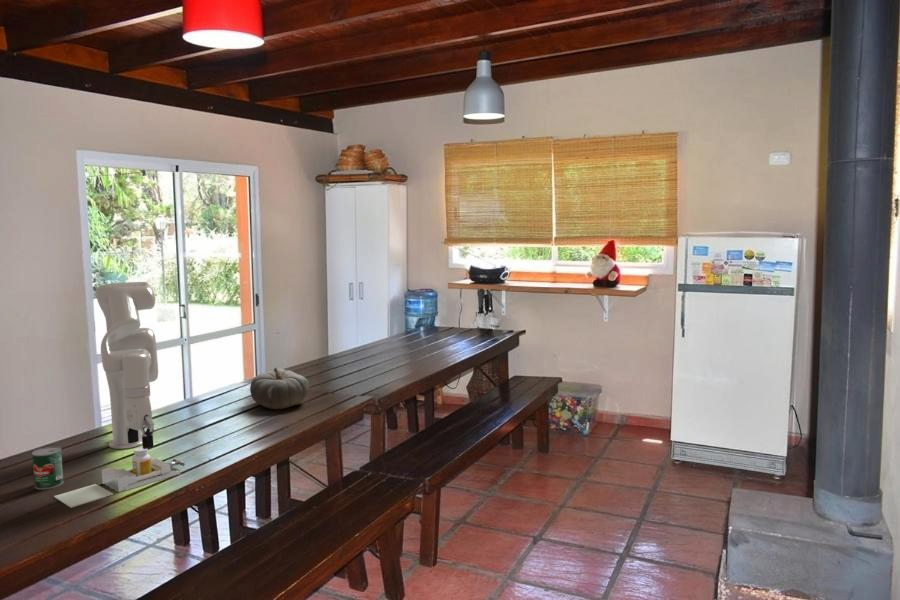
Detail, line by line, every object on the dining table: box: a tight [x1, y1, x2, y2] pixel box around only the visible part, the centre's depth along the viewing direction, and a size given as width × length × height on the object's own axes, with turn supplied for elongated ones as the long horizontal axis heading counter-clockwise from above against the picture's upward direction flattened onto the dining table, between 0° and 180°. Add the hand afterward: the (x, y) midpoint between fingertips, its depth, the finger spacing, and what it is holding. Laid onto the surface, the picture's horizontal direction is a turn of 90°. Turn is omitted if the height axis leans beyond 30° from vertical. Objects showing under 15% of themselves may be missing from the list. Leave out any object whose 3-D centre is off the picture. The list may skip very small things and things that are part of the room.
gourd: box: [249, 367, 310, 410], centre depth 304 cm, size 25×25×17 cm
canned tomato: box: [31, 446, 64, 490], centre depth 215 cm, size 8×8×11 cm
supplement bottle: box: [131, 446, 152, 476], centre depth 220 cm, size 5×5×10 cm
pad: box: [53, 483, 114, 508], centre depth 206 cm, size 12×12×1 cm
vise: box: [101, 458, 186, 493], centre depth 221 cm, size 12×23×4 cm, turn 140°
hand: (140, 445), depth 218 cm, fingers open, 9 cm apart
